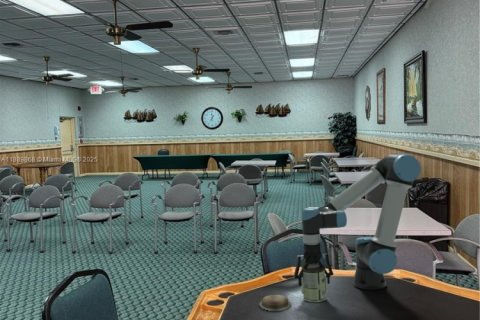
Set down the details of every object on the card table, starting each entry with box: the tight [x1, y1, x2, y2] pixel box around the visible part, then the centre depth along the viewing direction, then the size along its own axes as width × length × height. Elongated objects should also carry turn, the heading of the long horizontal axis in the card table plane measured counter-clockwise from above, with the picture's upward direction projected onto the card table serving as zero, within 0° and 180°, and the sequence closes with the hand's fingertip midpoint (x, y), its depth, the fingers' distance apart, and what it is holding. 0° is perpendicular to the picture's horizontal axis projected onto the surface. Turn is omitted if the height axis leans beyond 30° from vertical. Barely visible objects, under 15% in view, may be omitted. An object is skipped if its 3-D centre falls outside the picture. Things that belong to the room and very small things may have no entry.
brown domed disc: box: [258, 294, 292, 312], centre depth 191 cm, size 14×14×3 cm
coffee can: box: [301, 263, 327, 303], centre depth 195 cm, size 10×10×14 cm
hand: (314, 291), depth 195 cm, fingers closed on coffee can, 10 cm apart
